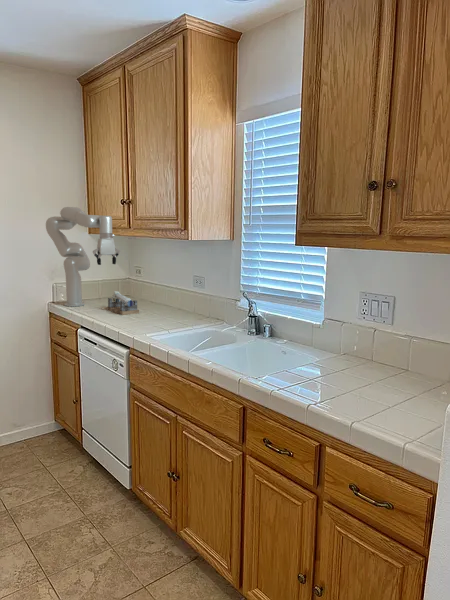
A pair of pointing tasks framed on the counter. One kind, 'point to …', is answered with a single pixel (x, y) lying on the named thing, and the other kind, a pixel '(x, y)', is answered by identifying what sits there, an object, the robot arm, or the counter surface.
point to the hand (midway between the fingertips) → (106, 264)
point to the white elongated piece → (122, 299)
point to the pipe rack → (122, 307)
